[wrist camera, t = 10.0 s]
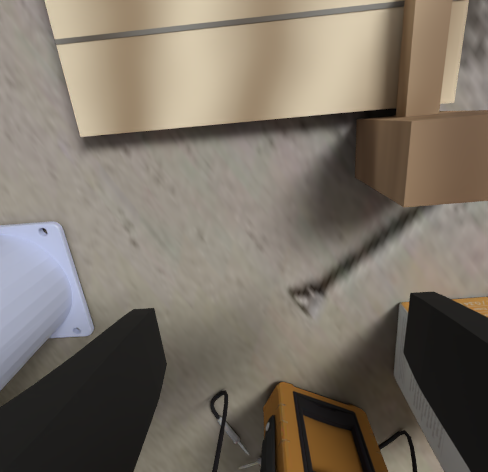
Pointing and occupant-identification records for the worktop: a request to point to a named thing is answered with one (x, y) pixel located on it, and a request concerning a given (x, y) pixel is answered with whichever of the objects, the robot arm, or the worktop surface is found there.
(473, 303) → the small box
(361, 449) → the multimeter
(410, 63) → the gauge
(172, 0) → the board
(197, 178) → the worktop surface
